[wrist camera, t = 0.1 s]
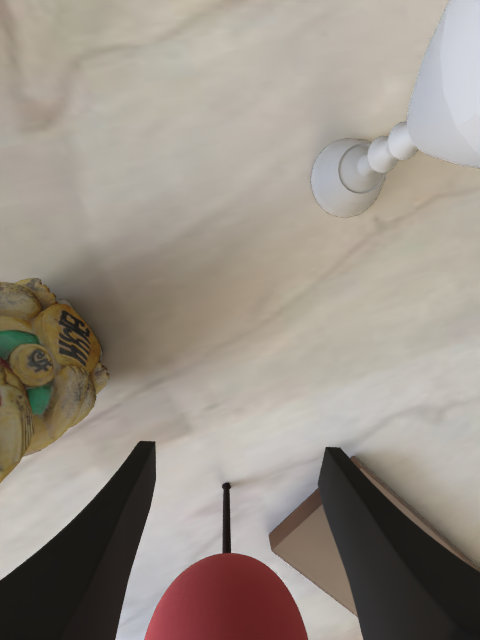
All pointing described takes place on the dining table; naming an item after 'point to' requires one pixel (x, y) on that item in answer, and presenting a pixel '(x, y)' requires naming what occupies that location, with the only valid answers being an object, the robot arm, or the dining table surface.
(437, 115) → the chalice
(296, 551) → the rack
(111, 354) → the dining table surface
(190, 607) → the lollipop
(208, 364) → the dining table surface
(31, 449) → the decorative figurine
